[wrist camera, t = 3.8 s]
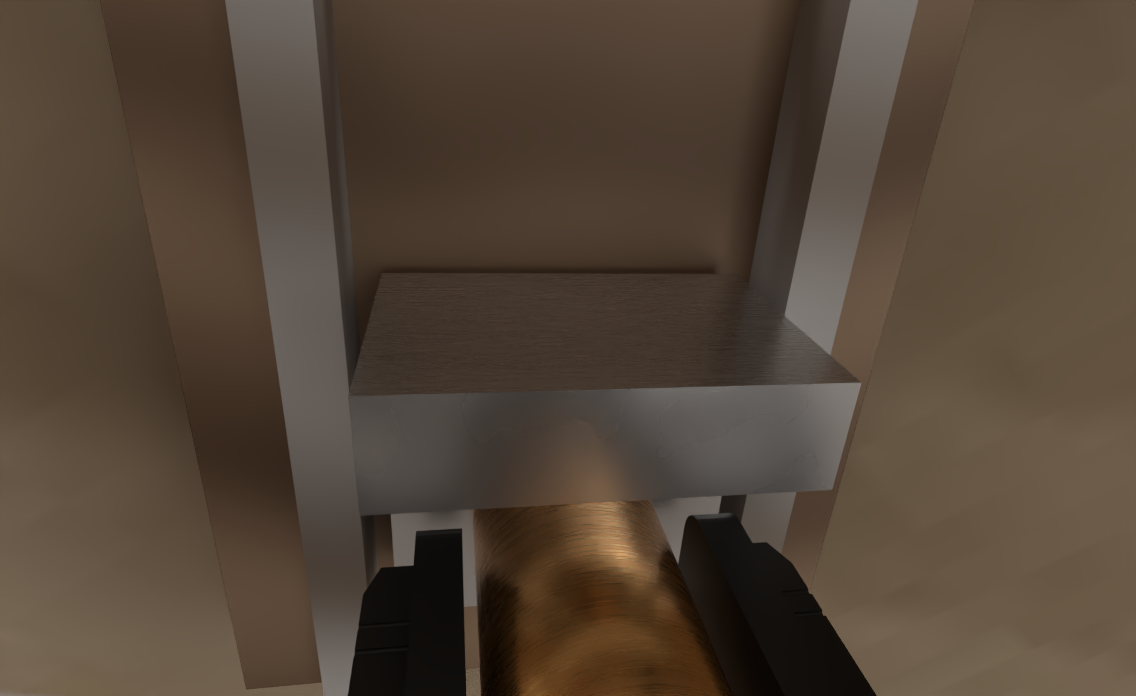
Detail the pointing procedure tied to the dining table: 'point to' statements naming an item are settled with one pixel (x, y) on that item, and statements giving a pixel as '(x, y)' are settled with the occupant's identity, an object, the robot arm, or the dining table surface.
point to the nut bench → (492, 220)
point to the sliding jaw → (585, 455)
